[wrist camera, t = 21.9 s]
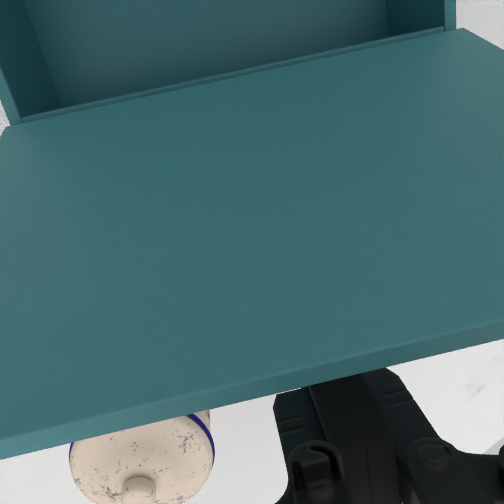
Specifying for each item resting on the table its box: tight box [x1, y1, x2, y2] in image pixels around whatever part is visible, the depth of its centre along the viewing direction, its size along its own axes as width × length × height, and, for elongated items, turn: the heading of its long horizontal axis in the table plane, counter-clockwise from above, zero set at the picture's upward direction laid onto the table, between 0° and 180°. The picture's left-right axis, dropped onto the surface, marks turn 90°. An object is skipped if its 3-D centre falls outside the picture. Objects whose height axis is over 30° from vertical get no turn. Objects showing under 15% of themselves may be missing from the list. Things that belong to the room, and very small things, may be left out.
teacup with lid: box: [69, 410, 215, 504], centre depth 31 cm, size 12×9×12 cm
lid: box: [0, 28, 504, 460], centre depth 15 cm, size 16×22×1 cm
